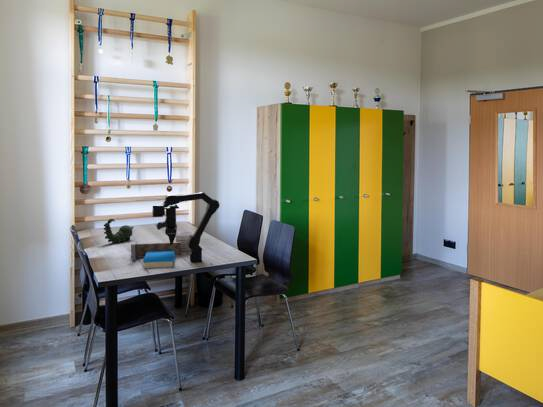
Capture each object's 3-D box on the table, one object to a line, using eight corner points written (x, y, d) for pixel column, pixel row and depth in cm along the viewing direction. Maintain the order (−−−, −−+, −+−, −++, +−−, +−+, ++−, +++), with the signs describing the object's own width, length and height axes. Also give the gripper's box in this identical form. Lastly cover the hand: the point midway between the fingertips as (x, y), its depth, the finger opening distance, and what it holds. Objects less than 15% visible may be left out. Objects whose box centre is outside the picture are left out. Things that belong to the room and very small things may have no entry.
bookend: (137, 257, 282) (136, 241, 281) (135, 261, 272) (135, 244, 271) (133, 257, 282) (133, 241, 281) (132, 261, 272) (131, 244, 271)
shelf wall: (181, 254, 289) (180, 241, 288) (181, 255, 287) (180, 242, 286) (131, 256, 284) (131, 243, 283) (131, 257, 282) (131, 244, 281)
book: (142, 261, 257) (146, 251, 281) (143, 269, 257) (146, 258, 282) (174, 260, 260) (174, 250, 284) (174, 267, 261) (175, 256, 285)
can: (196, 250, 301) (196, 232, 299) (186, 254, 291) (186, 235, 289) (182, 248, 306) (181, 231, 304) (171, 252, 295) (171, 234, 294)
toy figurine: (112, 247, 316) (139, 238, 337) (109, 221, 312) (136, 213, 333) (102, 246, 321) (130, 237, 342) (99, 220, 317) (127, 212, 338)
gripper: (157, 214, 272) (158, 240, 274) (155, 219, 254) (156, 247, 255) (176, 213, 274) (177, 239, 276) (176, 218, 256) (176, 246, 257)
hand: (171, 243), depth 266 cm, fingers open, 9 cm apart
